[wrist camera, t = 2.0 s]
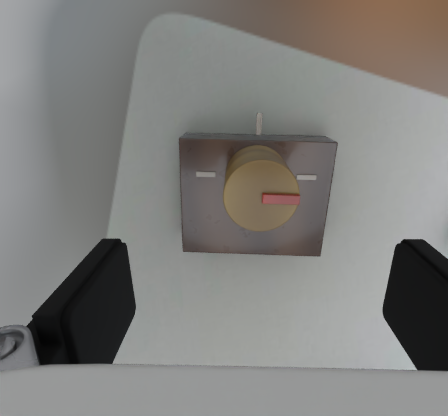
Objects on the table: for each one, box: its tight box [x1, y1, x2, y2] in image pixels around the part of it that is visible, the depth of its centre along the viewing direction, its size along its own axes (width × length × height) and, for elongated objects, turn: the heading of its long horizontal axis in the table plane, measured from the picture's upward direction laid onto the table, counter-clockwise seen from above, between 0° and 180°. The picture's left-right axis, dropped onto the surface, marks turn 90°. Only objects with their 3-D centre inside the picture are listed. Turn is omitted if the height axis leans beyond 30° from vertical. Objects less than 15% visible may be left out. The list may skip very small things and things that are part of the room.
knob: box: [223, 145, 300, 232], centre depth 19 cm, size 4×4×5 cm
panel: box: [179, 113, 338, 256], centre depth 24 cm, size 11×11×3 cm
